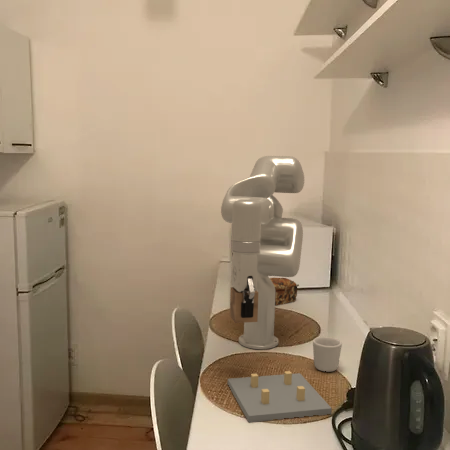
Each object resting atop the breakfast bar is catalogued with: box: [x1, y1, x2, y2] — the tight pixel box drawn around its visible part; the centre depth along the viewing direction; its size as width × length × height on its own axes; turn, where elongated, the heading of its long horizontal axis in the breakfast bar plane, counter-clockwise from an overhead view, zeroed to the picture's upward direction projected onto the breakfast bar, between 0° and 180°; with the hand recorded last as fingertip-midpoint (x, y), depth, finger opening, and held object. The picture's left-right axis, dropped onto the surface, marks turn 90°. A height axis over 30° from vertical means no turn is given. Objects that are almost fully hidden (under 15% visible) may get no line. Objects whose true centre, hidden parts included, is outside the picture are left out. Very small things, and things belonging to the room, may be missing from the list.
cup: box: [312, 336, 343, 373], centre depth 150 cm, size 11×8×8 cm
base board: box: [227, 370, 333, 423], centre depth 130 cm, size 20×20×4 cm
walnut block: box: [229, 286, 258, 324], centre depth 141 cm, size 6×6×8 cm
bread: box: [269, 277, 298, 307], centre depth 215 cm, size 19×11×10 cm, turn 125°
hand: (243, 312), depth 141 cm, fingers closed on walnut block, 6 cm apart
